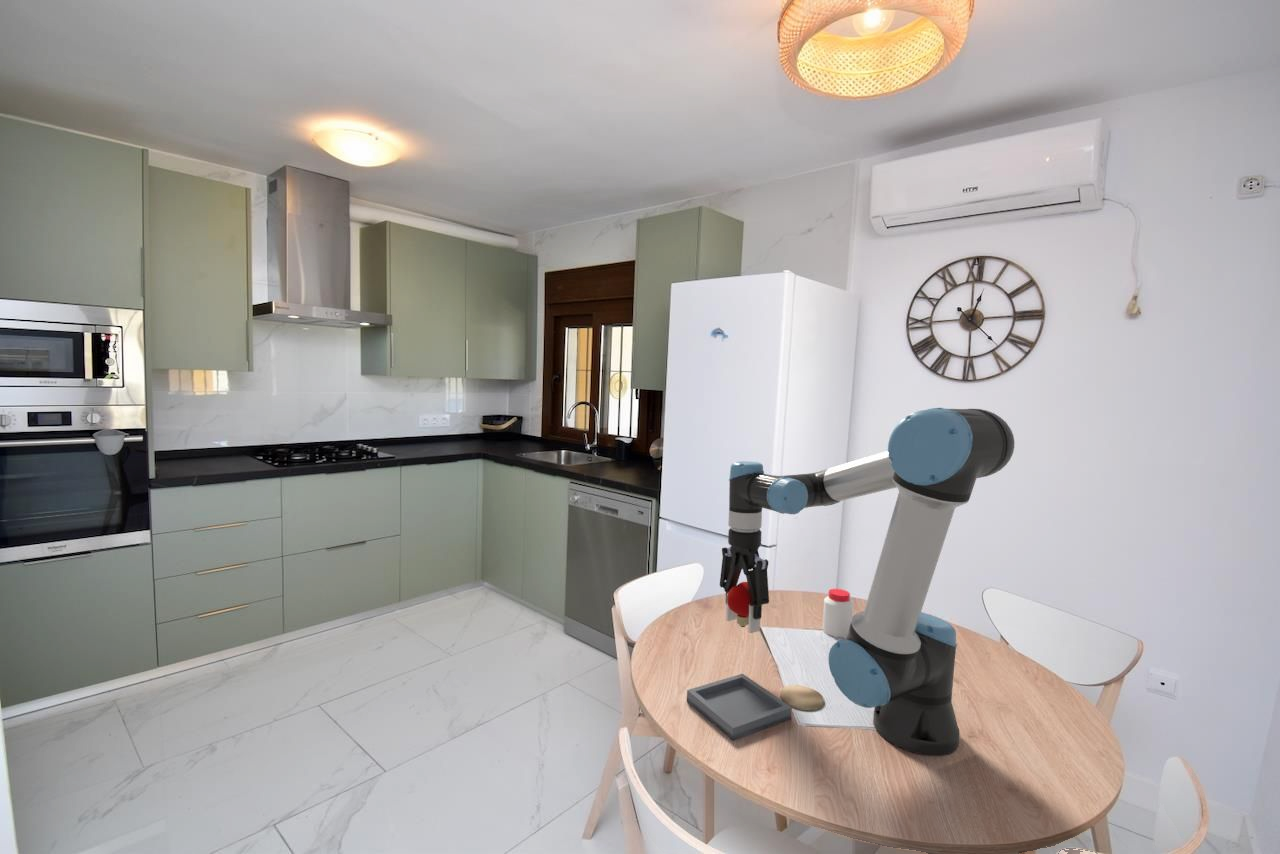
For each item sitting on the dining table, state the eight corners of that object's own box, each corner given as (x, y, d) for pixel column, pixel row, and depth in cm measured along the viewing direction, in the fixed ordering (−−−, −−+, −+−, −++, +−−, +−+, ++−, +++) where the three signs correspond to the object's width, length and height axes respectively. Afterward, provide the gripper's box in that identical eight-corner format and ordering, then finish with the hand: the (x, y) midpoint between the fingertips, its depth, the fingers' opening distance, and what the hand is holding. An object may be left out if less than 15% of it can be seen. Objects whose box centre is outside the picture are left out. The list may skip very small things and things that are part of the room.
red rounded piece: (747, 636, 130) (747, 592, 129) (719, 629, 134) (720, 586, 134) (765, 624, 137) (766, 582, 137) (738, 617, 141) (739, 576, 141)
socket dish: (791, 718, 116) (791, 707, 116) (732, 740, 109) (733, 728, 109) (742, 683, 129) (742, 673, 129) (686, 701, 122) (687, 690, 121)
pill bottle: (816, 628, 160) (818, 589, 159) (837, 623, 163) (839, 585, 163) (836, 639, 153) (838, 599, 152) (858, 635, 156) (860, 595, 156)
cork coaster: (832, 703, 122) (832, 701, 122) (802, 714, 118) (802, 712, 118) (801, 683, 130) (801, 681, 130) (771, 693, 126) (771, 691, 126)
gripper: (788, 536, 128) (785, 638, 129) (729, 518, 145) (727, 608, 146) (762, 540, 124) (759, 645, 125) (705, 521, 141) (703, 613, 142)
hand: (742, 625), depth 136 cm, fingers closed on red rounded piece, 7 cm apart
